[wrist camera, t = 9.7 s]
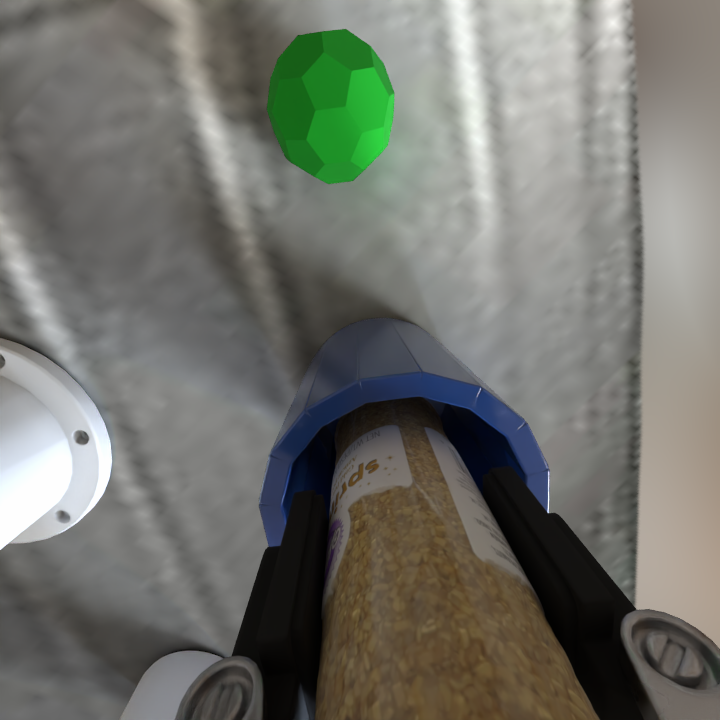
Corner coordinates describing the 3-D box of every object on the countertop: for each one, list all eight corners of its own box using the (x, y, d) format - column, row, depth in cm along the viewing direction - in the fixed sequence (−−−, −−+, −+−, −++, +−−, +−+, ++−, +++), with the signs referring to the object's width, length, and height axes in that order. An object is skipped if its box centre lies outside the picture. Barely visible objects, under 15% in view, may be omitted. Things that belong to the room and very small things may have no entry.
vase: (319, 465, 21) (289, 635, 11) (294, 328, 19) (230, 395, 9) (458, 447, 21) (548, 606, 11) (449, 307, 19) (552, 354, 9)
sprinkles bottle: (330, 387, 14) (59, 1851, 1) (443, 381, 14) (1515, 1768, 1) (338, 485, 15) (253, 1739, 2) (442, 480, 15) (943, 1696, 2)
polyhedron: (264, 156, 17) (229, 114, 12) (311, 48, 15) (293, -44, 11) (356, 212, 17) (356, 192, 13) (407, 112, 16) (429, 51, 12)
